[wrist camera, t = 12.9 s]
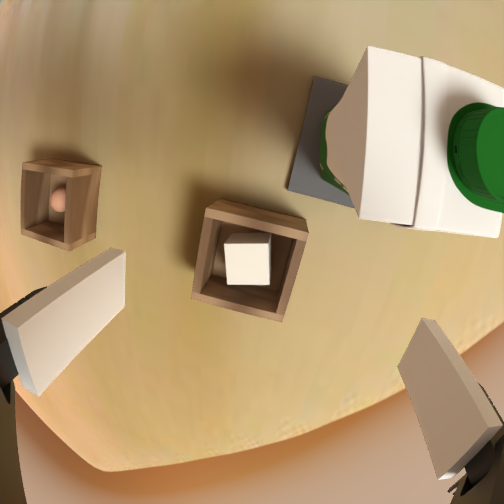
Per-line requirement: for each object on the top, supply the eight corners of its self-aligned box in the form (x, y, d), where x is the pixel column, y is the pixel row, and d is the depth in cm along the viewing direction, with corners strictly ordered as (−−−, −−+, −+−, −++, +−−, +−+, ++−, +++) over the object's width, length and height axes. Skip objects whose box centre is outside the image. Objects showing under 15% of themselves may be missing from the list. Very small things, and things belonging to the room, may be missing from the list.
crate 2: (205, 277, 34) (190, 298, 29) (220, 198, 31) (205, 207, 26) (283, 297, 34) (281, 322, 28) (305, 219, 31) (308, 232, 25)
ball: (60, 207, 33) (45, 211, 30) (61, 184, 32) (46, 187, 29) (76, 211, 33) (61, 216, 30) (77, 187, 32) (62, 191, 29)
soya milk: (397, 197, 28) (526, 265, 9) (311, 188, 29) (348, 247, 10) (403, 114, 25) (540, 77, 6) (316, 100, 26) (359, 7, 7)
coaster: (287, 189, 30) (287, 190, 29) (313, 77, 26) (314, 76, 25) (396, 220, 29) (398, 221, 29) (422, 114, 25) (424, 113, 25)
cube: (234, 269, 33) (227, 284, 29) (232, 233, 31) (224, 243, 28) (272, 269, 32) (269, 284, 28) (271, 232, 31) (268, 243, 27)
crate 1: (47, 223, 35) (21, 233, 30) (51, 158, 32) (22, 162, 27) (95, 237, 34) (69, 251, 29) (101, 166, 31) (73, 170, 26)
